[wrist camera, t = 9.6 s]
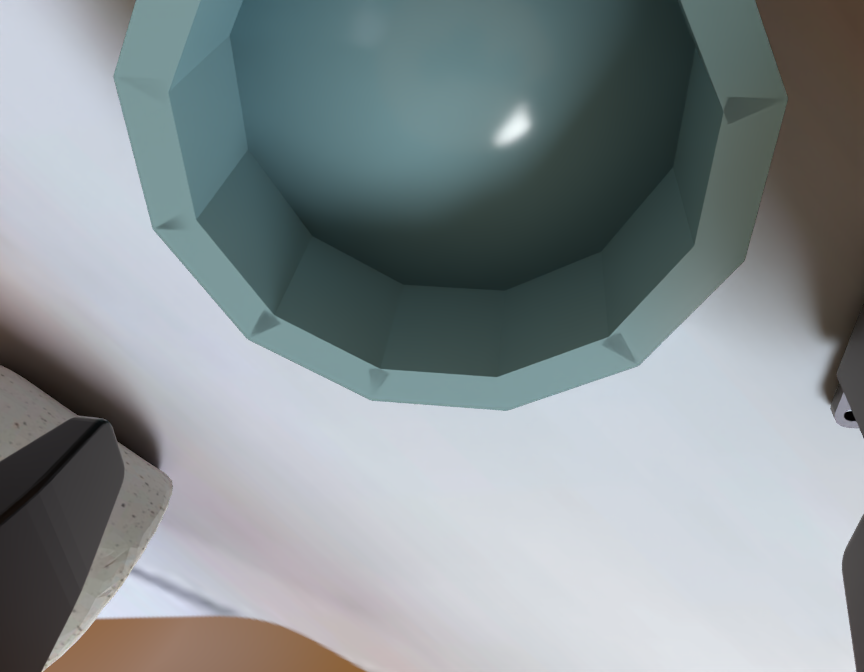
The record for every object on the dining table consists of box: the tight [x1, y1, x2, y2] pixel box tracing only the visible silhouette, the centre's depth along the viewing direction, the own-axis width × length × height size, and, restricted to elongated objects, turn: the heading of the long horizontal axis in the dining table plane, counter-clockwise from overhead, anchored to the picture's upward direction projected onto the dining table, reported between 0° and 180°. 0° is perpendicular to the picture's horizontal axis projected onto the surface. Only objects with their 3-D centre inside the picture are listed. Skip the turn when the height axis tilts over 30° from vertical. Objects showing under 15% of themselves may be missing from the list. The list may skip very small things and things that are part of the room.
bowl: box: [114, 0, 788, 411], centre depth 17 cm, size 12×12×4 cm
